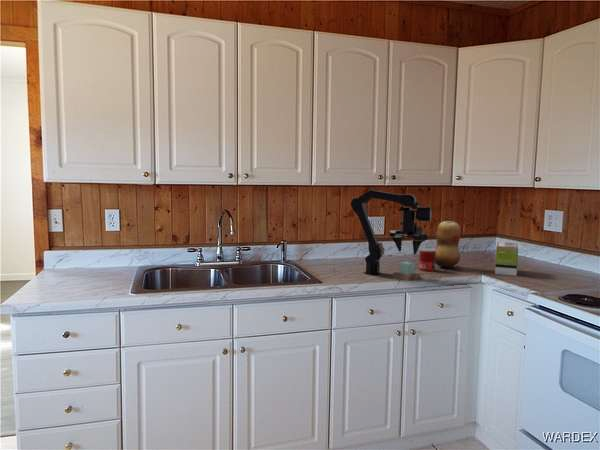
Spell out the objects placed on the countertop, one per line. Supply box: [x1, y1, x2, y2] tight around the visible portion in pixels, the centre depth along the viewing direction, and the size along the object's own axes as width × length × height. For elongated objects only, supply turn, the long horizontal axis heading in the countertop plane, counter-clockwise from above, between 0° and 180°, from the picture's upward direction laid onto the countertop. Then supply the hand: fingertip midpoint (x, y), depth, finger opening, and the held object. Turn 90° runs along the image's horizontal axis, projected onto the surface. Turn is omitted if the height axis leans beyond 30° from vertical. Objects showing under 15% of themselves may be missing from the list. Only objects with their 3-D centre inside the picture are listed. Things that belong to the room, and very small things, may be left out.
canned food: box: [418, 247, 436, 273], centre depth 215 cm, size 8×8×11 cm
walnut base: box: [392, 271, 421, 281], centre depth 199 cm, size 9×9×2 cm
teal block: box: [398, 261, 416, 275], centre depth 199 cm, size 5×5×5 cm
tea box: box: [494, 241, 519, 277], centre depth 212 cm, size 15×10×15 cm, turn 154°
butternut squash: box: [434, 220, 461, 269], centre depth 221 cm, size 14×13×25 cm
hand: (407, 252), depth 198 cm, fingers open, 9 cm apart
